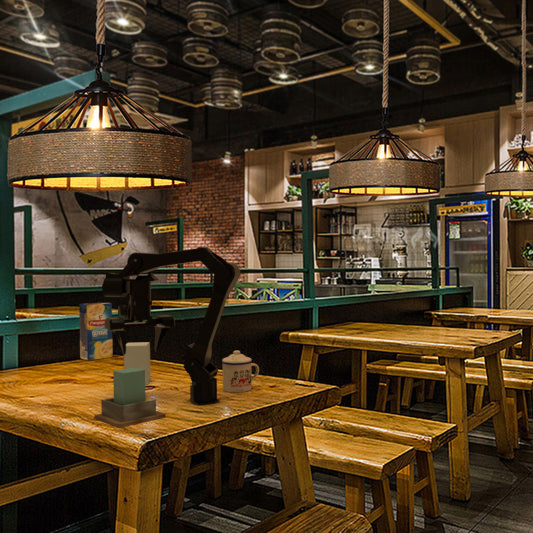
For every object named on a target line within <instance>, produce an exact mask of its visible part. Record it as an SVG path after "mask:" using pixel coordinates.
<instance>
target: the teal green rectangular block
mask: <svg viewBox="0 0 533 533" xmlns="http://www.w3.org/2000/svg"><path fill="white" fill-rule="evenodd" d="M112 373H113V374H112V375H113V378H112V379H113V398H114V403H115V404H118V405H121V406H124V405H129V404H134V403H139V402H144V401H147V400H146V398H147V397H146V396H147V395H146V385H145V370H143V369H139V368H128V369H124V368H123V369H115V370H113V372H112Z"/></svg>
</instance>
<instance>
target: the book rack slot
mask: <svg viewBox="0 0 533 533" xmlns="http://www.w3.org/2000/svg"><path fill="white" fill-rule="evenodd" d="M100 404H101V406H100V409H101V410H100V411H101V413H98V414H94V415H93V418H94V419H95V420H97V421H101V422H102V423H106V424H108V425H110V426H113V427H116V428H118V429H119V428H123V427H128V426H132V425H137V424H141V423H147V422H150V421H155V420H159V419H163V418H166V413H164V412H160V411H158V410H157V399H156V398H155V399H151V400H146V401H144V402H139V403H134V404H129V405H124V406H121V405H118V404H115V403H114V397H110V398H104V399H101V402H100Z"/></svg>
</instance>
